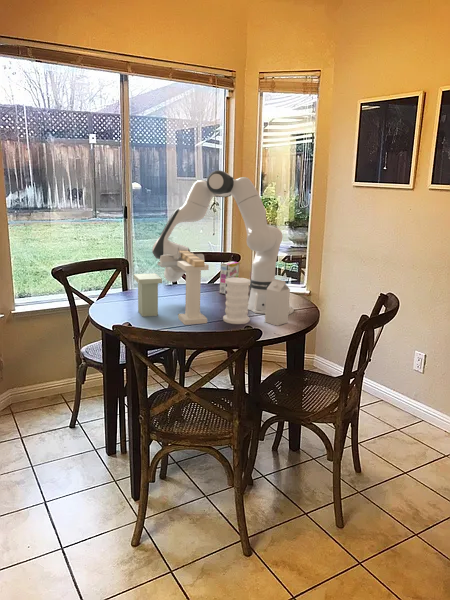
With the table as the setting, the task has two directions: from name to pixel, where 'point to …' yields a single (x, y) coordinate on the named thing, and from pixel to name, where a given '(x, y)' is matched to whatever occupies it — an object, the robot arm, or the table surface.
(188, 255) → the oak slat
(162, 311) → the table surface
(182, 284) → the table surface
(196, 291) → the shelf stand
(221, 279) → the candy bar box
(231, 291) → the decorative container
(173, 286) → the table surface
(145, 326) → the table surface
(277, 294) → the milk carton
